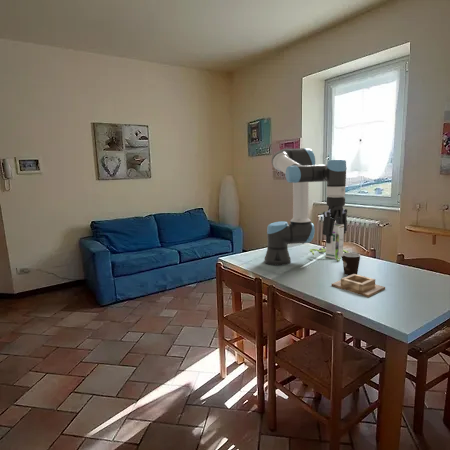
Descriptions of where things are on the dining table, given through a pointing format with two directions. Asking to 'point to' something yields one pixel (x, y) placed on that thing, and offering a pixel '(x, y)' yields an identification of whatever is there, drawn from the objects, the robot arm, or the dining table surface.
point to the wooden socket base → (359, 285)
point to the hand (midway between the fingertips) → (334, 248)
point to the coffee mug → (350, 263)
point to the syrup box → (337, 242)
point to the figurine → (324, 251)
